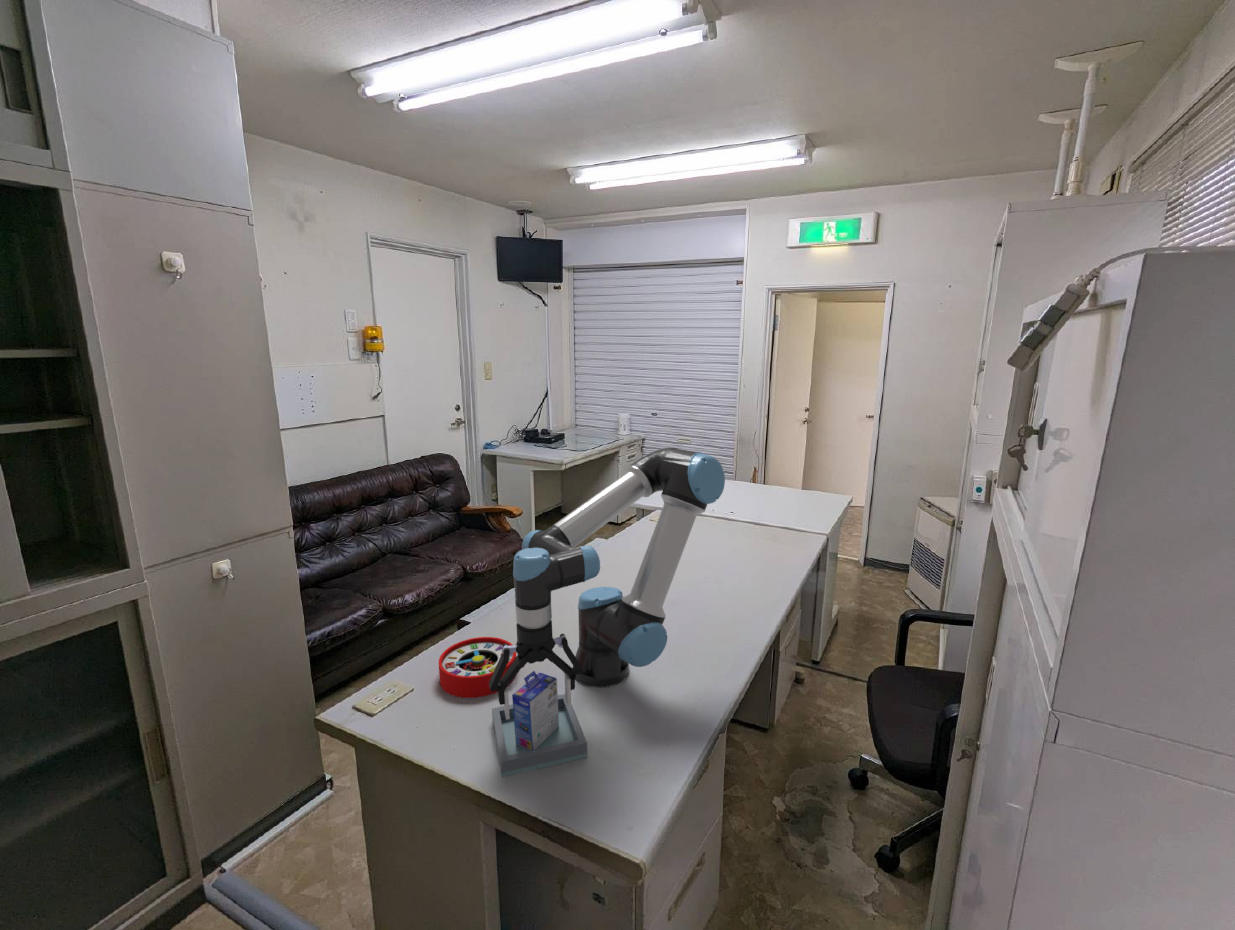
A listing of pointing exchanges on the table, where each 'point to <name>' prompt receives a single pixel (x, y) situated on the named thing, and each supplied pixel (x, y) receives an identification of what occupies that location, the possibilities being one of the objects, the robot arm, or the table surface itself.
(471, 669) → the toy clock
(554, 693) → the ink cartridge box
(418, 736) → the table surface
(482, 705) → the table surface
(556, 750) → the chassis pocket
